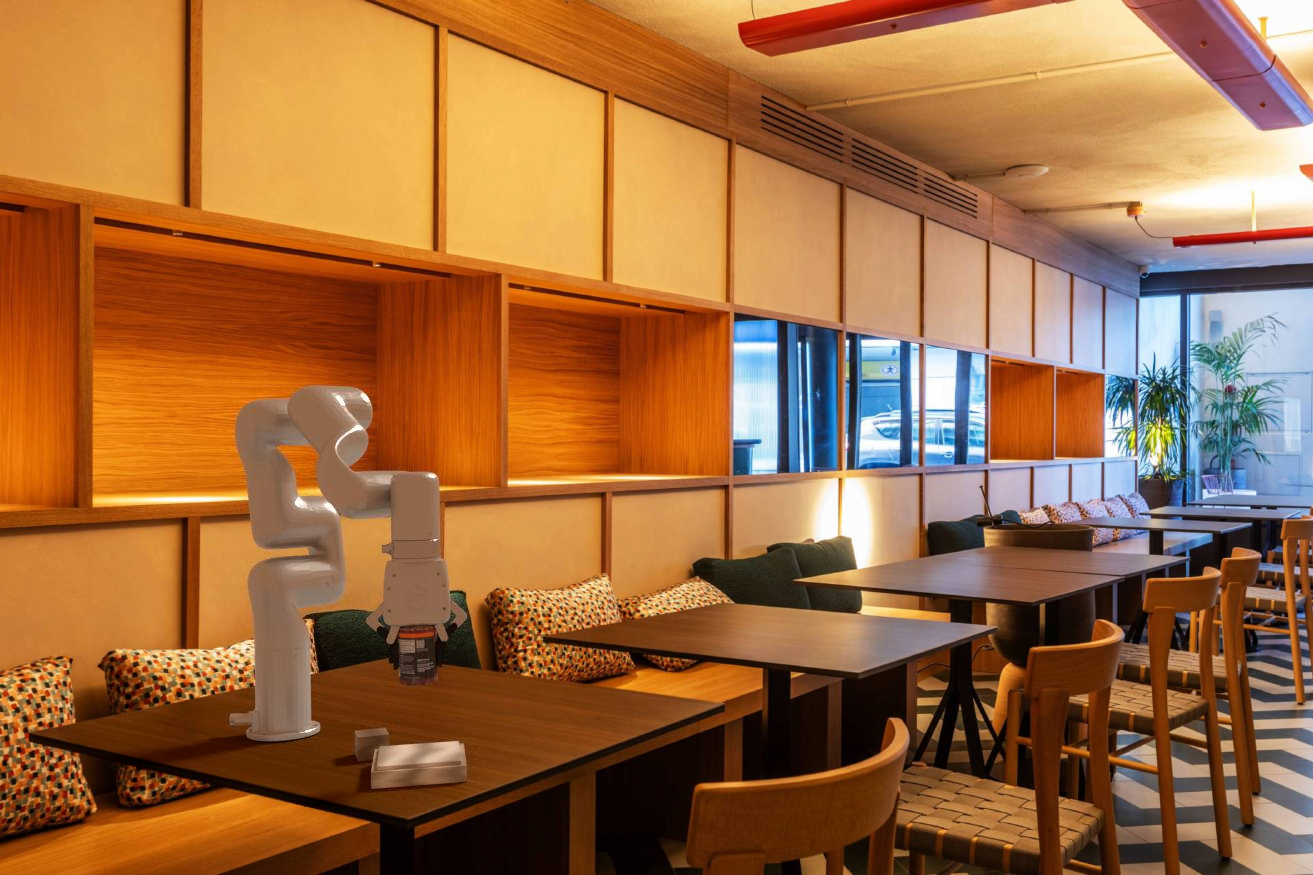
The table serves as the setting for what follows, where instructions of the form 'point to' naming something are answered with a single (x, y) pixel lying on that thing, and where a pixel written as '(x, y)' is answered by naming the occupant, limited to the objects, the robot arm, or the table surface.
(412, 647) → the supplement bottle
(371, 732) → the beige block
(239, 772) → the table surface
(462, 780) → the stand
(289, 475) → the robot arm
